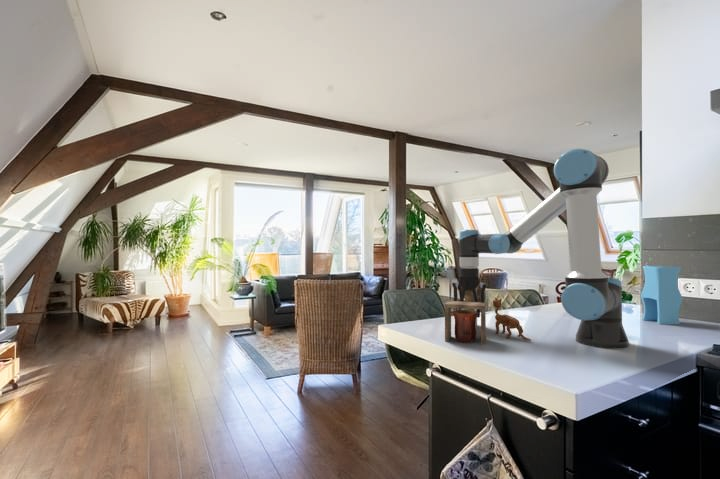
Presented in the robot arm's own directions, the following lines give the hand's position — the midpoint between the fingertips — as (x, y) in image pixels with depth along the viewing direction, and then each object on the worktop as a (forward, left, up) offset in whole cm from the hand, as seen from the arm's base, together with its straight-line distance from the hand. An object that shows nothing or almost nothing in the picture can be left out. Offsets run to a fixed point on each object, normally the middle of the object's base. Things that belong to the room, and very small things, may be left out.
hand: (469, 324), depth 148 cm
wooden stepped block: (0, +3, -2) cm, 4 cm away
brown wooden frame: (0, +19, -2) cm, 19 cm away
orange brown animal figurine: (-16, +9, -2) cm, 18 cm away
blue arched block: (-77, -40, -2) cm, 87 cm away
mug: (0, +21, -2) cm, 21 cm away
